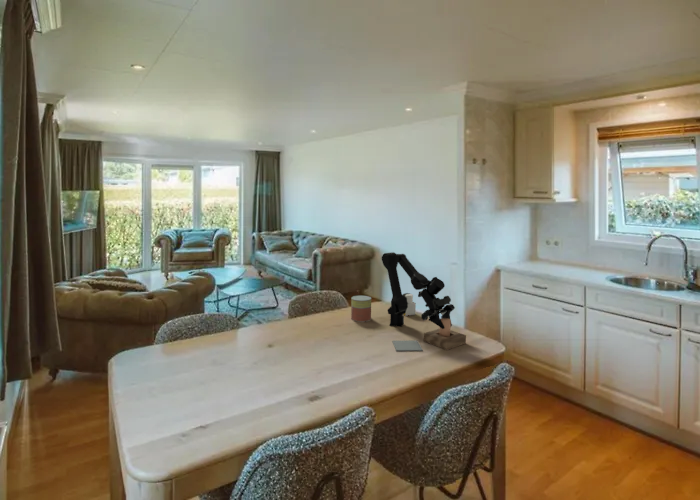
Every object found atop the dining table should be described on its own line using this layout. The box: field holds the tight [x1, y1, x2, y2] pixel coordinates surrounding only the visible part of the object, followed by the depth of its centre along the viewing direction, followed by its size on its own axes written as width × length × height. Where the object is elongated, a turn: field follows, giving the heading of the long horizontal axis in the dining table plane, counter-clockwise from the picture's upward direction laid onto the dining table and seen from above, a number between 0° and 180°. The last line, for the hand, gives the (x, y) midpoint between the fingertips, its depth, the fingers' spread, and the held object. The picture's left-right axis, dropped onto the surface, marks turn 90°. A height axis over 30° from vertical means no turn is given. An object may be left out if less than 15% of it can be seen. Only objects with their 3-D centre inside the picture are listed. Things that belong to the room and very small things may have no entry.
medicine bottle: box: [402, 292, 417, 317], centre depth 247 cm, size 7×7×12 cm
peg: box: [439, 317, 452, 337], centre depth 201 cm, size 5×5×10 cm
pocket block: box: [423, 328, 467, 351], centre depth 202 cm, size 14×14×4 cm
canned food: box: [350, 295, 372, 323], centre depth 237 cm, size 11×11×12 cm
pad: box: [391, 339, 424, 352], centre depth 196 cm, size 12×12×1 cm
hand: (447, 327), depth 200 cm, fingers closed on peg, 5 cm apart
